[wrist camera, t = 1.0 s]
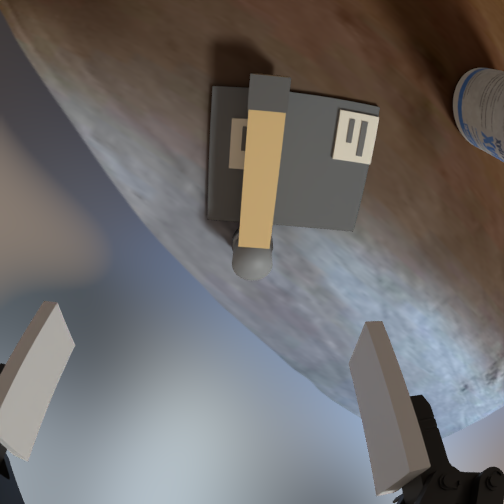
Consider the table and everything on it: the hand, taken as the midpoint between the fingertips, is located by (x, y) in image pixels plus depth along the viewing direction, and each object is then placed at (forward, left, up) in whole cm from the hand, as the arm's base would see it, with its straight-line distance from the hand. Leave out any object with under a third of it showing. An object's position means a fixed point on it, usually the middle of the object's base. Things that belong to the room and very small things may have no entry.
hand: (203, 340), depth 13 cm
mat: (-1, +6, -22) cm, 23 cm away
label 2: (-4, +12, -22) cm, 25 cm away
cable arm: (+1, +3, -21) cm, 21 cm away
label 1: (-2, +2, -22) cm, 22 cm away
